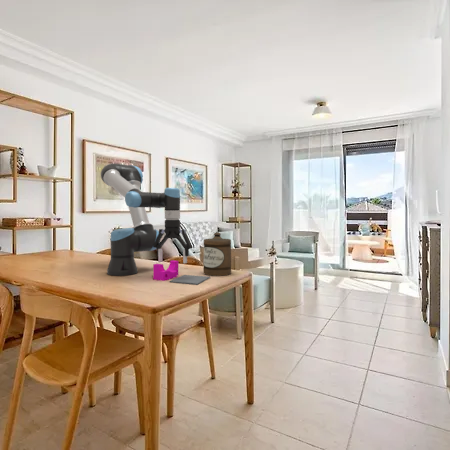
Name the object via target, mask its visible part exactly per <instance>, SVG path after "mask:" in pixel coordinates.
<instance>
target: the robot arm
mask: <svg viewBox="0 0 450 450" xmlns="http://www.w3.org/2000/svg"><path fill="white" fill-rule="evenodd" d="M143 177H144V176H143V172H142V169H141V168H140V167H139V166H136V165H133V164H129V165H128V164H119V163H108V164H106V165H104V166H103V167H102V169H101V171H100V178H101V180H102V182H103V183H104V184H106V186H108V187H112V188H113V189H114V190H115V191H116V192H117V193H118V194H119V195H121V196H122V197H123V198H124V201H125V205H126V206H127V207H128V209H129V212H130V214H129V215H130V216H131V217H130V218H131V220H132V225H133V227H125V228H118V229H114V230H112V231H111V233H110V260H109V263H108V266H107V269H106V274H107V275H110V276H117V277H119V276H120V277H122V276H123V277H125V276H131V275H136V274H138V267H137V263H136V261H135V253H140V252H150V251H155V250H156V255H157V257H158V258H157V259H158V263H161V262H163V248H162V247H163V246H164V244H165V243H166V242H167V240H169V239H175V240H177V241H178V242H179V243H180V245H181V246H182V247H183V251H182V252H183V254H182V257H183V259H182V261H183V262H182V264H187V263H188V257H189V255H190V253H189V250H190V249H193V245H192V243H191V241H190V239H189V236H188V234H187V229H186V228H184V229H181V220H180V219H181V191H180V188H179V187H165V188H164V192H151V191H150V192H148V191H141V189H140V187H141V186H142V184H143V181H144V179H143ZM146 208H154V209H155V208H156V209H158V208H159V209H161V208H162V209H163V208H164V219H165V220H164V228H159V230H158V229H156V228H155V229H154V225H153V223H150V221H149V218H148V213H147V210H146ZM180 234H181V235H182V236H181V235H180ZM163 235H164V236H163ZM182 237H183V238H182Z"/></svg>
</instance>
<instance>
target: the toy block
mask: <svg viewBox="0 0 450 450" xmlns="http://www.w3.org/2000/svg"><path fill="white" fill-rule="evenodd" d="M152 269H153V270H152V272H153V275H152V277H153V278H152V279H153V280H155V281H161V282H164V281H168V280H169V281H170V280H173V279H176V278H178V276H179V260H169V265H168V267H167V269H165V268H164V263H163V264H162V263H154V264H153V268H152Z"/></svg>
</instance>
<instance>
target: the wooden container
mask: <svg viewBox="0 0 450 450" xmlns="http://www.w3.org/2000/svg"><path fill="white" fill-rule="evenodd" d="M213 235H214V236H213V237H212V238H204V239H203V263H202V264H203V271H202V272H203V275H205V276H206V275H207V276H210V277H211V276H212V277H217V276H218V277H221V276H229V275H231V274H232V240H231V239H230V238H222V237H221V232H220V231H219V232H218V231H216V232H214V234H213Z"/></svg>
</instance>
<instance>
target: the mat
mask: <svg viewBox="0 0 450 450" xmlns="http://www.w3.org/2000/svg"><path fill="white" fill-rule="evenodd" d="M209 279H211V276H206V275H195V274H194V275H193V274H191V275H190V274H183V275H180V276H177V277H175V278H172V279H170V280H169V283H172V284H173V283H175V284H183V285H193V286H194V285H195V286H196V285H197V286H198V285H201V284H202V283H204V282H205V281H208V280H209Z"/></svg>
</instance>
